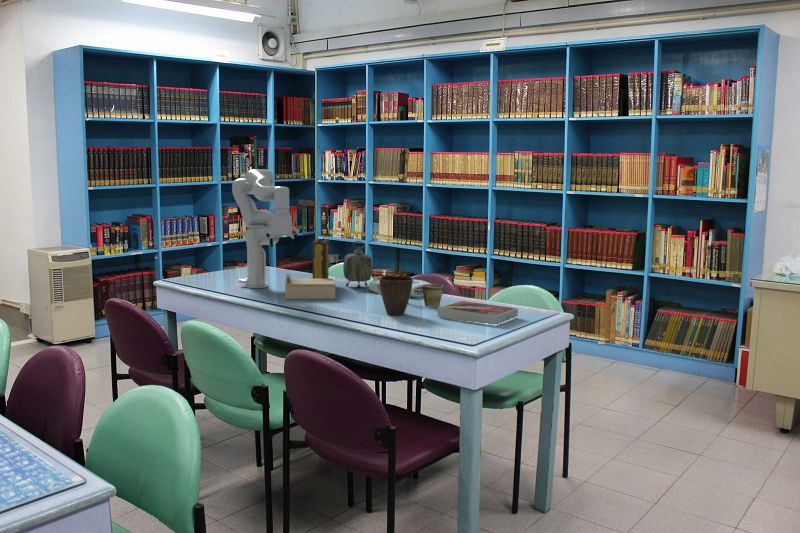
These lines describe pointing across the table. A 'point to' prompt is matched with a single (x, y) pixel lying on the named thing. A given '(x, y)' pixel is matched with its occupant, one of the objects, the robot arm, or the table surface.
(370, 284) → the document scanner
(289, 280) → the mailer lid
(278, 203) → the robot arm
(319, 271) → the book
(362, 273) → the grey rounded piece
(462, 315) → the product packaging
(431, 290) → the ceramic cup
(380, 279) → the plant pot
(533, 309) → the table surface
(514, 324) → the table surface
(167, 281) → the table surface
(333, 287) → the box
